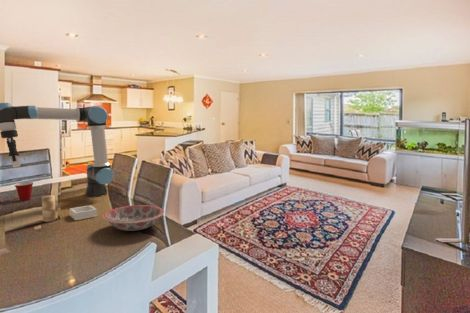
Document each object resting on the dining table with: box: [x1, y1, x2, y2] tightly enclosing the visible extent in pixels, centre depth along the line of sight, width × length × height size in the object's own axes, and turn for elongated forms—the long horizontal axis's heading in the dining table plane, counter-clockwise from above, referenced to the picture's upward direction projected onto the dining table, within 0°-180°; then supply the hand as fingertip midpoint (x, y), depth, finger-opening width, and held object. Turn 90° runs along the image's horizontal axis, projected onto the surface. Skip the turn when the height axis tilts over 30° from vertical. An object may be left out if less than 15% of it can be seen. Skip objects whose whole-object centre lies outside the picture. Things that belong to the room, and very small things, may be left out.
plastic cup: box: [13, 181, 34, 202], centre depth 195 cm, size 11×11×12 cm
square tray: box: [69, 204, 98, 221], centre depth 164 cm, size 11×11×4 cm
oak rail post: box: [41, 194, 57, 223], centre depth 156 cm, size 6×6×13 cm
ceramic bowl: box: [103, 204, 165, 232], centre depth 147 cm, size 29×29×8 cm
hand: (17, 167), depth 165 cm, fingers open, 13 cm apart
